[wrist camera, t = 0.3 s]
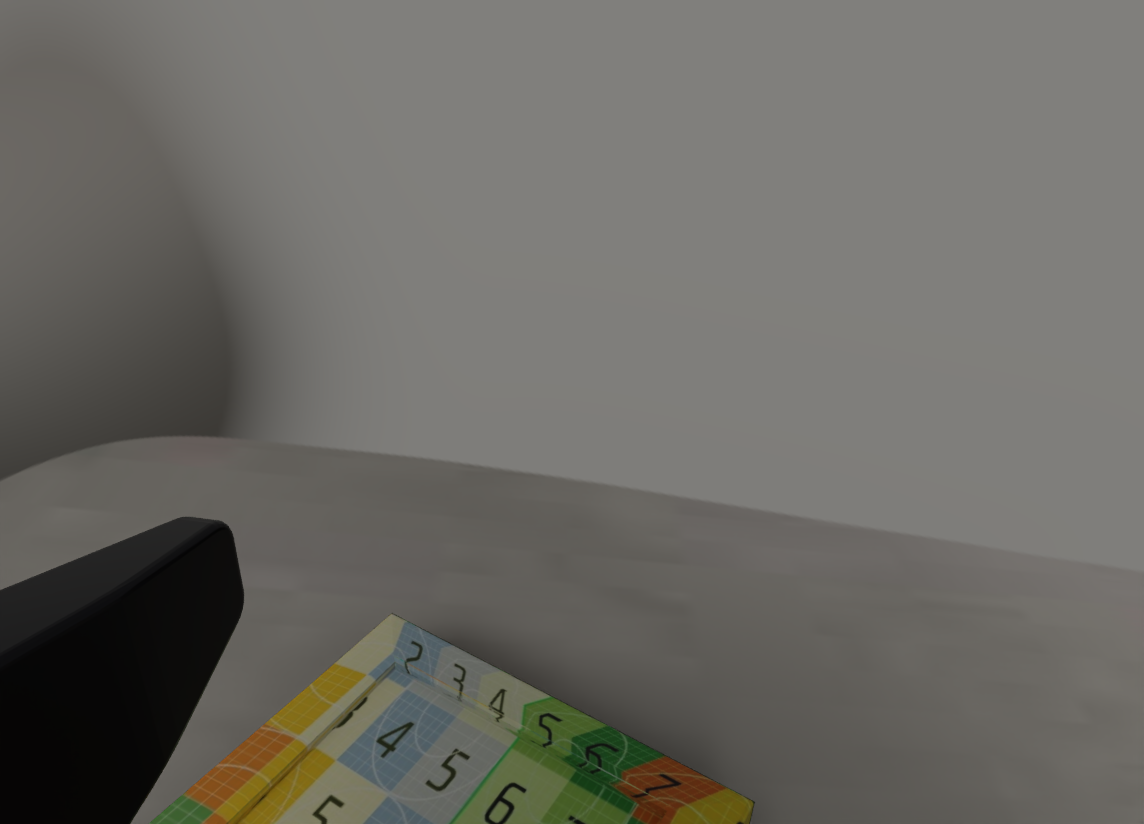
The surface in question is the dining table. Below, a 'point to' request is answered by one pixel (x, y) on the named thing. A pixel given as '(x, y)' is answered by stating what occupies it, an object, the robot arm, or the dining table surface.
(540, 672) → the dining table surface
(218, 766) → the puzzle game
